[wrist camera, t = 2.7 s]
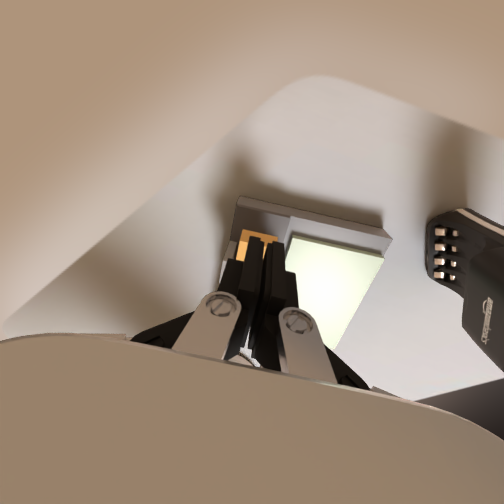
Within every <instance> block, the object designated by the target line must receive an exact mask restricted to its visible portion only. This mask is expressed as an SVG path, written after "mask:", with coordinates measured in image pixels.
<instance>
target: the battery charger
mask: <svg viewBox="0 0 504 504" xmlns="http://www.w3.org/2000/svg"><path fill="white" fill-rule="evenodd" d="M426 268H427V274H428V276H429V277H430V278H431V279H433V280H434V281H436V282H438V283H439V284H441V285H444V286H446V287H448V288H450V289H452V290H453V291H455V292H456V293H458V294H459V295H460V296H461V297H462V298H464V303H463V313H462V327H463V328H464V330H465V331H466V332H467V333H468V334H469V336H470V337H471V338H472V340H473V341H474V342H475V343H476V344H477V345H478V346H479V347H480V348H481V349H482V351H483V352H484V353H485V354H486V355H487V356H488V357H489V358H490V359H491V360H492V361H493V362H494V363H495V364H496V365H497V366H498V367H499V368H500V369H501V370H502V371H503V372H504V226H502V225H500V224H498V223H496V222H494V221H492V220H490V219H488V218H486V217H484V216H482V215H480V214H479V213H477V212H475V211H473V210H471V209H468V208H465V209H461V208H460V209H456V210H454V211H452V212H448V213H445V214H442V215H440V216H438V217H436V218H434V219H433V220H432V221H431V222H430V223H429V225H428V228H427V250H426Z"/></svg>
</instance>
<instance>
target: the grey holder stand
mask: <svg viewBox="0 0 504 504" xmlns="http://www.w3.org/2000/svg"><path fill="white" fill-rule="evenodd" d="M243 229H244V230H249V231H253V232H258V233H262V234H267V235H271V236H275V237H278V241H277V242H281V243H284V247H285V270H286V271H290V272H294V273H295V274H296V281H297V291H298V301H299V308H300V309H302V310H304V311H306V312H307V313H309V314H310V315H311V316H312V317H313V318H314V320H315V321H316V323H317V326H318V329H319V332H320V335H321V338H322V341H323V343H324V344H325V345H326V346H327V347H328V348H329V349H333V350H334V349H335V347H336V345H337V344H338V342H339V340H340V338H341V336H342V335H343V333H344V331H345V329H346V327H347V326H348V324H349V322H350V320H351V318H352V317H353V315H354V313H355V311H356V310H357V308H358V306H359V304H360V302H361V301H362V299H363V297H364V295H365V293H366V292H367V290H368V288H369V286H370V284H371V283H372V281H373V279H374V277H375V276H376V274H377V272H378V270H379V268H380V267H381V265H382V263H383V261H384V259H385V258H384V257H383V256H384V254H385V252H386V251H387V249H388V247H389V245H390V243H391V242H392V240H393V239H392V238H391V237H390V236H389V235H388V234H387V232H386V231H385V230H384V229H382V228H377V227H373V226H369V225H364V224H360V223H356V222H351V221H347V220H343V219H338V218H334V217H330V216H325V215H321V214H317V213H312V212H308V211H304V210H299V209H295V208H291V207H286V206H282V205H278V204H273V203H269V202H264V201H260V200H256V199H251V198H247V197H243V196H239V199H238V201H237V204H236V209H235V214H234V220H233V225H232V231H231V236H230V241H229V244H228V247H227V250H226V253H225V256H224V259H223V263H222V268H221V274H220V279H219V283H220V281H221V278H222V275H223V272H224V269H225V266H226V263H227V260H228V258H231V259H236V257H237V252H238V247H239V242H240V238H241V234H242V230H243ZM249 331H250V329H249Z"/></svg>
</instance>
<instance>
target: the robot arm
mask: <svg viewBox="0 0 504 504" xmlns="http://www.w3.org/2000/svg"><path fill="white" fill-rule="evenodd" d="M264 243H265V242H263V241H261V238H259V237H255V236H250V237H249V241H248V245H247V250H246V254H245V258H244V261H240V260H236V259H231V258H228V260H227V263H226V266H225V269H224V272H223V275H222V278H221V281H220V285H219V288H218V291H216V292H212V293H209V294H208V295H206V296H205V297H204V298H203V299H202V301H201V303H200V304H199V306H198V307H197V309H196V311H193V312H191V313H188V314H186V315H183V316H181V317H178V318H176V319H173V320H171V321H168V322H166V323H163V324H160V325H158V326H155V327H153V328H150V329H148V330H145V331H143V332H141V333H139V334H137V335H135V336H134V337H126V334H77V333H45V334H35V335H26V336H20V337H15V338H11V339H6V340H2V341H0V504H504V441H503V440H502V439H500V438H499V437H497V436H496V435H494V434H492V433H491V432H489V431H488V430H486V429H484V428H482V427H480V426H478V425H477V424H475V423H473V422H471V421H469V420H467V419H464V418H462V417H460V416H457V415H455V414H453V413H450V412H447V411H444V410H441V409H439V408H436V407H433V406H429V405H425V404H421V403H418V402H414V401H410V400H406V399H402V398H400V397H398V396H395V395H393V394H391V393H388V392H386V391H384V390H381V389H379V388H377V387H374V386H373V387H372V389H370V388H369V387H368V385H367V384H366V383H365V382H364V381H363V379H362V378H361V377H360V376H358V375H357V374H356V373H355V372H354V371H353V370H352V369H351V368H350V367H349V366H348V365H347V364H345V363H344V362H343V361H342V360H341V359H340V358H339V357H338V356H337V355H336V354H335V353H333V352H332V351H331V350H330V349H329V348H328V347H327V346H326V345H325V344H324V343H323V341H322V338H321V335H320V332H319V329H318V326H317V323H316V321H315V320H314V318H313V317H312V316H311V315H310V314H309V313H307V312H306V311H304V310H302V309H300V308H299V301H298V291H297V281H296V274H295V273H294V272H290V271H286V270H285V247H284V243H281V242H277V241H272V243H268V244H267V247H266V251H265V254H264ZM263 254H264V258H263ZM249 329H250V332H249ZM248 332H249V341H248V349H252V355H251V358H254V359H256V360H257V361H258V362H259V364H260V367H255V366H252V365H251V363H249V362H248V361H247V360H246V359H244V358H243V357H241V356H239V355H238V354H239V351H240V347H243V348H244V346H245V342H246V339H247V335H248Z"/></svg>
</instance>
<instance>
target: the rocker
mask: <svg viewBox="0 0 504 504" xmlns="http://www.w3.org/2000/svg"><path fill="white" fill-rule="evenodd" d="M250 236H255V237H259V238H261V241H263V242H265V243H264V254H265V251H266V247H267V244H268V243H272V241H278V237H275V236H271V235H267V234H262V233H258V232H253V231H249V230H244V229H243V230H242V234H241V238H240V242H239V247H238V252H237V257H236V260H240V261H244V258H245V254H246V250H247V245H248V241H249V237H250ZM264 254H263V258H264Z"/></svg>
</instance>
